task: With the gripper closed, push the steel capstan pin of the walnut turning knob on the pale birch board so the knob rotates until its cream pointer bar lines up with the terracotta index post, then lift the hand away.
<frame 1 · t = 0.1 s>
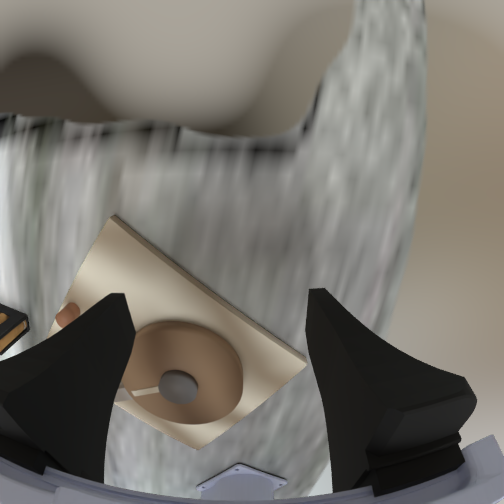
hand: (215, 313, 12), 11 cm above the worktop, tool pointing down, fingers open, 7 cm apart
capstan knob: (156, 393, 21), point 3 cm above the worktop, hinge at 50.0°
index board: (159, 357, 24), on the worktop
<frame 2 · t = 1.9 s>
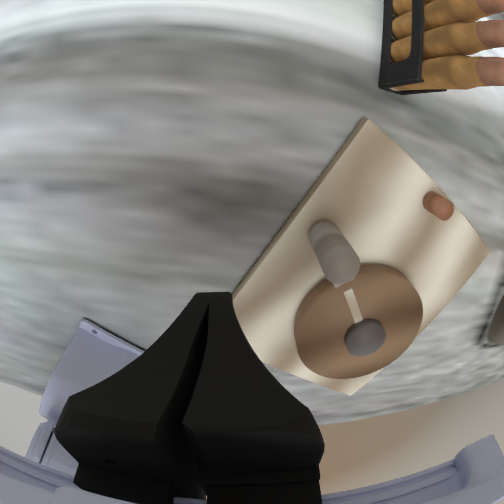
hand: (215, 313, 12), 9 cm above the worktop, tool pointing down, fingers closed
ammunition clip: (394, 21, 14), on the worktop
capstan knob: (359, 321, 19), point 3 cm above the worktop, hinge at 50.0°
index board: (361, 287, 22), on the worktop
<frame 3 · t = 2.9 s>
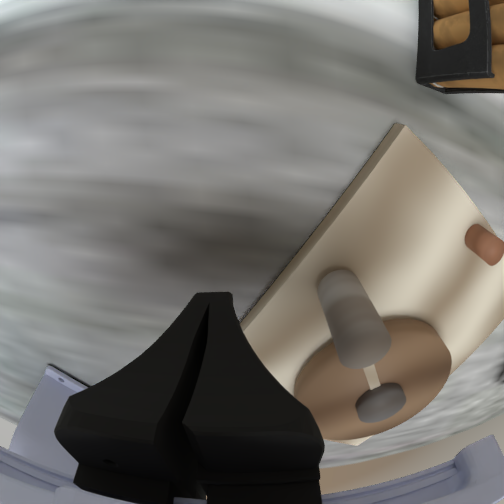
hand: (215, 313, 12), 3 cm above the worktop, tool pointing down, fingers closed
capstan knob: (376, 389, 14), point 3 cm above the worktop, hinge at 50.0°
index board: (378, 340, 17), on the worktop
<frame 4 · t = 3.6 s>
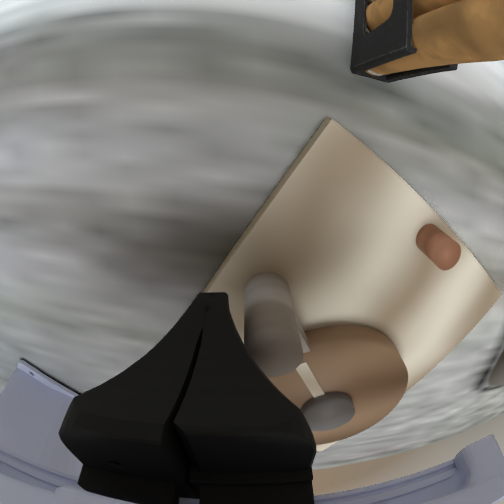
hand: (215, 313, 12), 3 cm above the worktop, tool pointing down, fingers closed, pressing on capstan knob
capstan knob: (317, 398, 14), point 3 cm above the worktop, hinge at 49.9°, touching gripper
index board: (328, 346, 17), on the worktop
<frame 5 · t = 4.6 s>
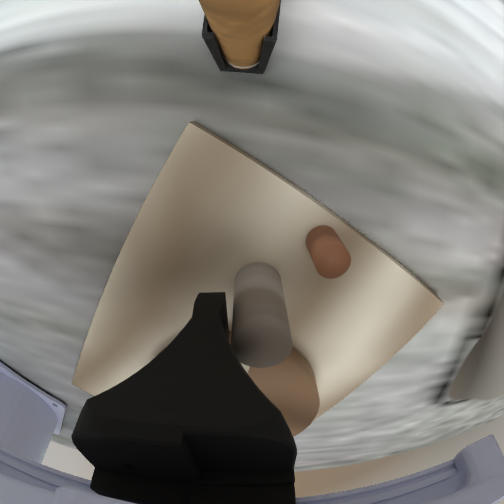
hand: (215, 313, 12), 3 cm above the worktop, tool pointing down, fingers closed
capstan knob: (235, 401, 14), point 3 cm above the worktop, hinge at 12.9°, touching gripper
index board: (235, 352, 17), on the worktop
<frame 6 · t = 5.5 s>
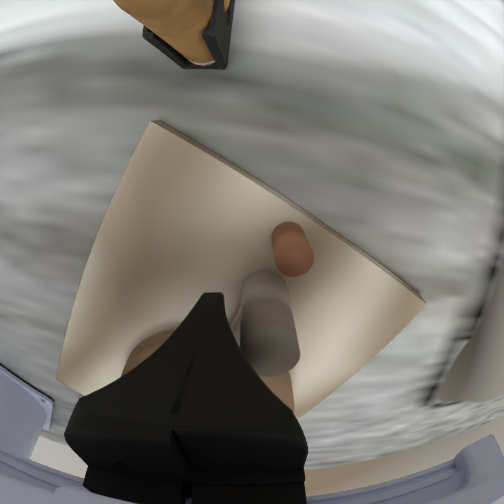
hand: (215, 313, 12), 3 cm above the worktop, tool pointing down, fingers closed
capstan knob: (215, 401, 14), point 3 cm above the worktop, hinge at -0.3°, touching gripper
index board: (209, 350, 17), on the worktop
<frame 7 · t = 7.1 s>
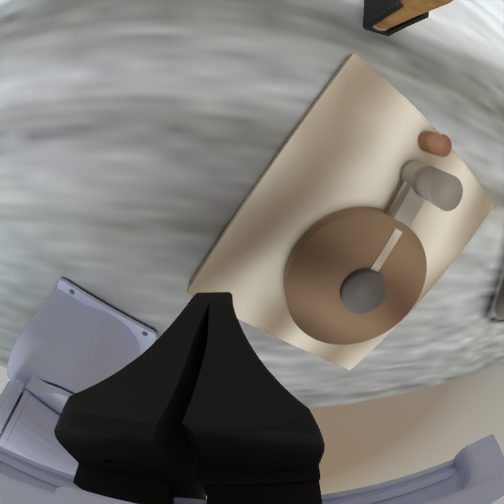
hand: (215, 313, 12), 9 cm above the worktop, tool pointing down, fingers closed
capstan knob: (381, 267, 18), point 3 cm above the worktop, hinge at -0.5°
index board: (357, 238, 21), on the worktop
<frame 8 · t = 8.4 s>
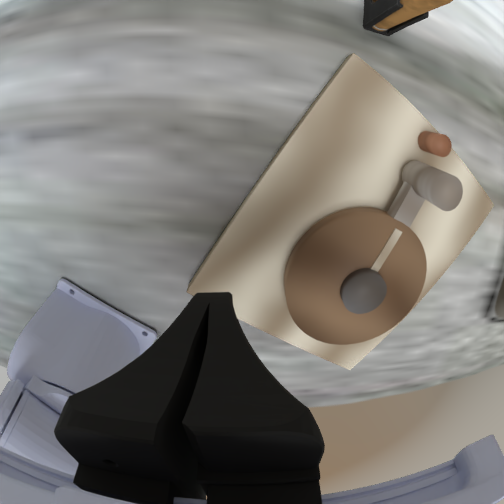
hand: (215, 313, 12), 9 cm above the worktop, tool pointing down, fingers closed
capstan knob: (381, 267, 18), point 3 cm above the worktop, hinge at -0.5°
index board: (357, 238, 21), on the worktop
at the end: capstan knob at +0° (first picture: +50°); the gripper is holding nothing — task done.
